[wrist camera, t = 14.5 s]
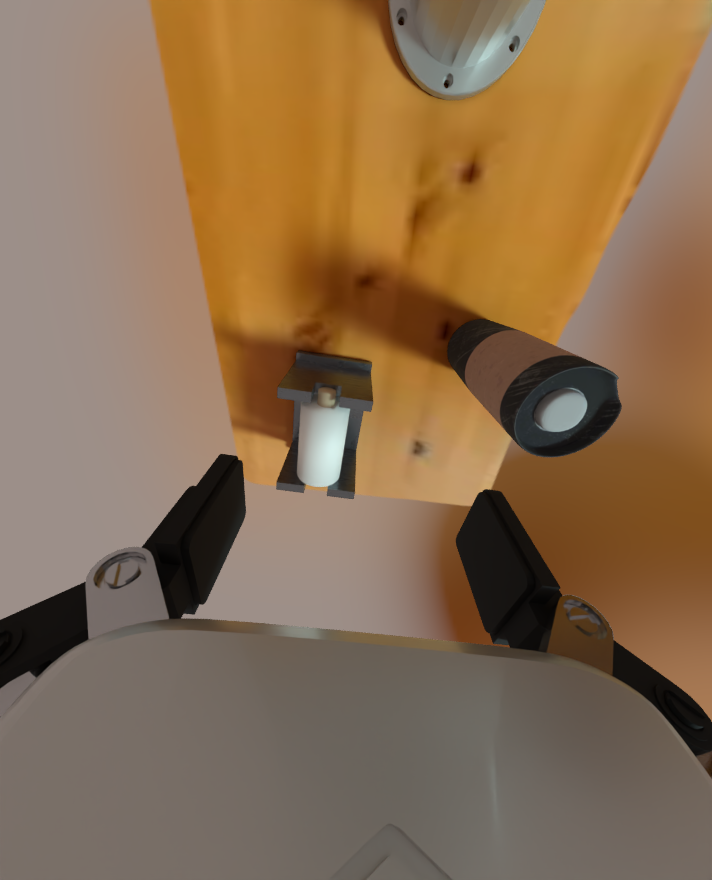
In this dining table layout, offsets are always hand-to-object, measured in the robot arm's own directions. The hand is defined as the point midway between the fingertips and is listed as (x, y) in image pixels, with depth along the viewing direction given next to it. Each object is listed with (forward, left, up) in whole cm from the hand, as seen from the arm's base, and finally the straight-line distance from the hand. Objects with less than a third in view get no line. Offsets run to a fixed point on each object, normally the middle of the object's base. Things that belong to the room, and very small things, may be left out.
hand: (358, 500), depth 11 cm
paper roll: (+11, -3, -24) cm, 27 cm away
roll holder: (+11, -3, -30) cm, 32 cm away
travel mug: (-1, +15, -31) cm, 34 cm away
